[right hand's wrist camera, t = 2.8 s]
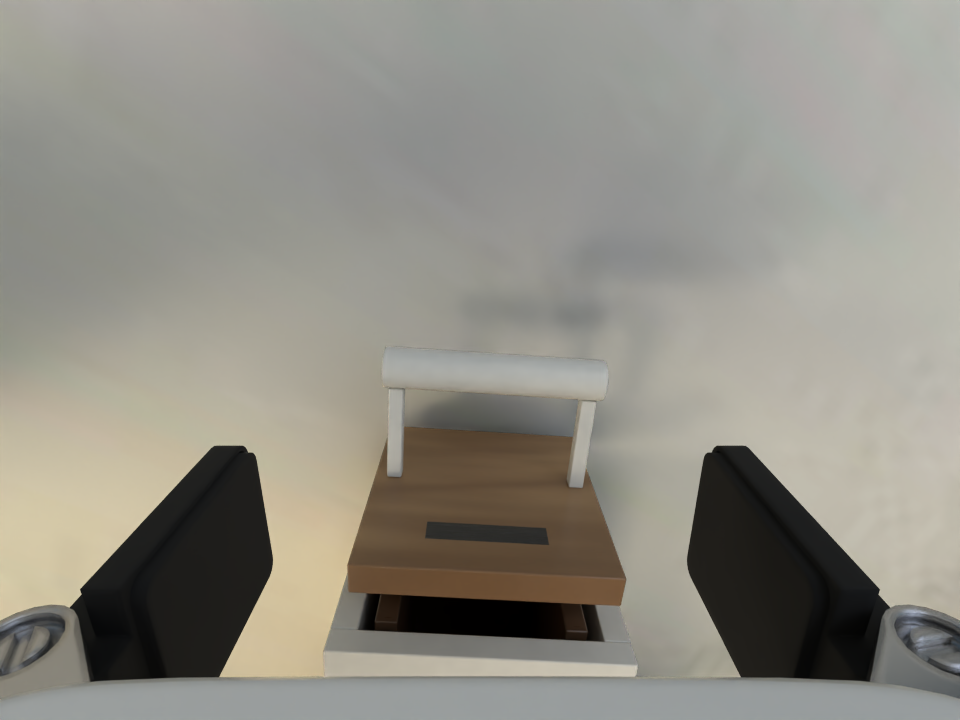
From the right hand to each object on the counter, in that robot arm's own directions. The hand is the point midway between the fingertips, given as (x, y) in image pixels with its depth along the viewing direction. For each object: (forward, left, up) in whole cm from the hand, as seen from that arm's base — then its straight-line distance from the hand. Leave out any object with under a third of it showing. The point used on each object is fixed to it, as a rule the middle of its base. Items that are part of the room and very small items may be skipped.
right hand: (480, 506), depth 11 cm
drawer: (-8, -7, -14) cm, 18 cm away
